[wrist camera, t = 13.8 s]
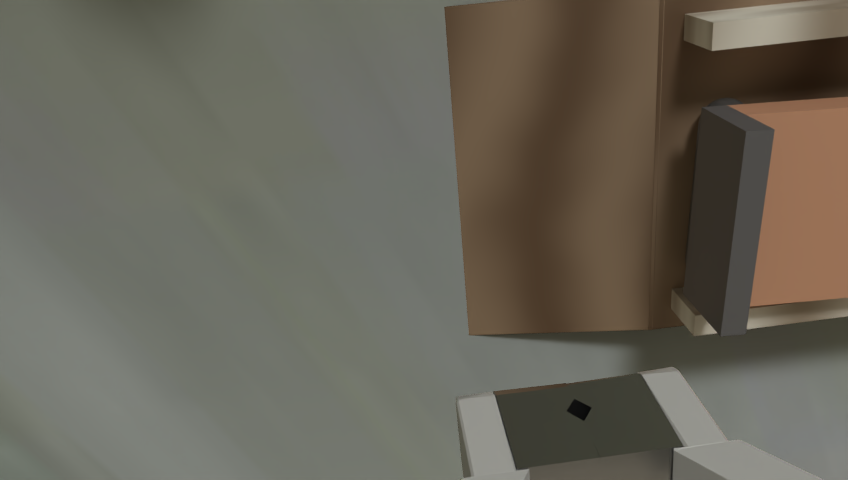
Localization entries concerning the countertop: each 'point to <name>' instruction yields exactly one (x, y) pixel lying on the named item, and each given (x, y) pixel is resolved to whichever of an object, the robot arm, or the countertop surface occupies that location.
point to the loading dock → (611, 148)
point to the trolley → (767, 208)
